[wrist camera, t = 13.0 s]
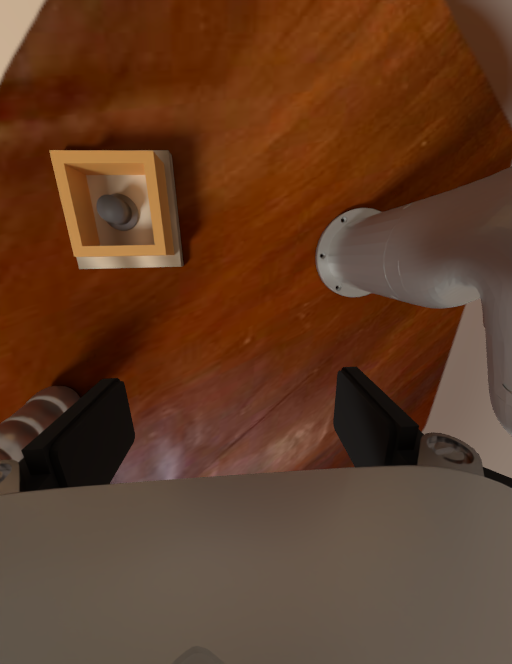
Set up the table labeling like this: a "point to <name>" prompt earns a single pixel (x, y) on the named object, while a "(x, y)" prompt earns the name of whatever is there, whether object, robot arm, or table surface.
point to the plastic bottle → (33, 419)
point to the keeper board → (142, 227)
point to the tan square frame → (79, 206)
